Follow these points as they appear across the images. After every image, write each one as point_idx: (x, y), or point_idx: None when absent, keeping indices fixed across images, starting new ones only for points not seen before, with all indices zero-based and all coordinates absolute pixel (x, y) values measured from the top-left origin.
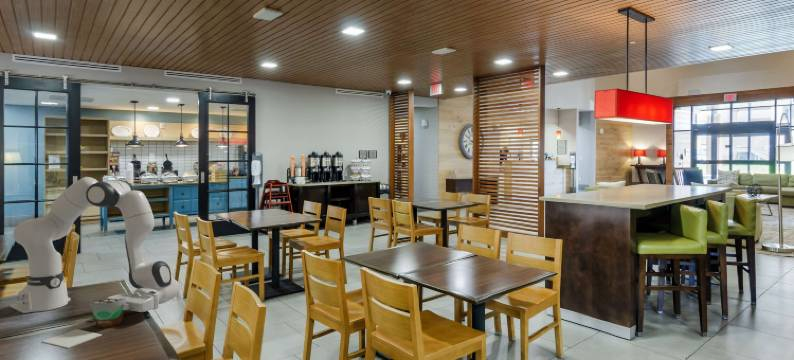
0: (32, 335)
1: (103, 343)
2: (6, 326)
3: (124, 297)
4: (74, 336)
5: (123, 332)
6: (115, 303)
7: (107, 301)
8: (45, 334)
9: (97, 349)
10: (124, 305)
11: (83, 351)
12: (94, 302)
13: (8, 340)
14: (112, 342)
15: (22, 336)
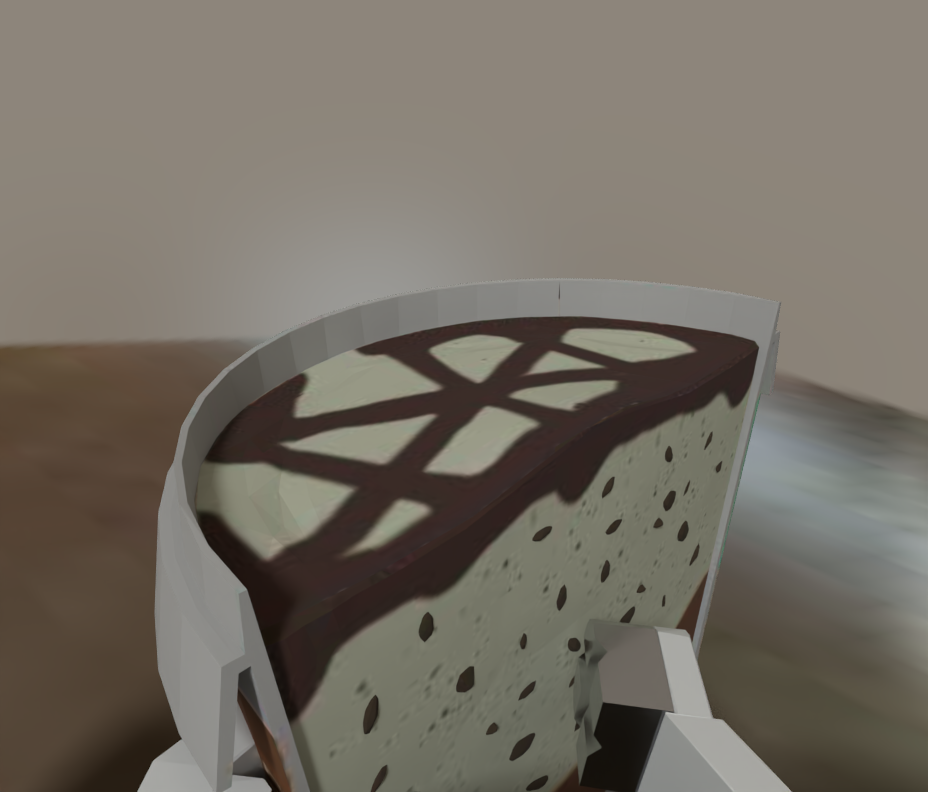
0: (869, 462)
1: (99, 429)
2: None
3: (189, 523)
4: None
5: (8, 630)
6: (245, 386)
7: (502, 392)
8: (810, 483)
9: (83, 372)
10: None
11: (177, 353)
12: (571, 279)
13: (874, 405)
14: (14, 447)
15: (902, 445)
